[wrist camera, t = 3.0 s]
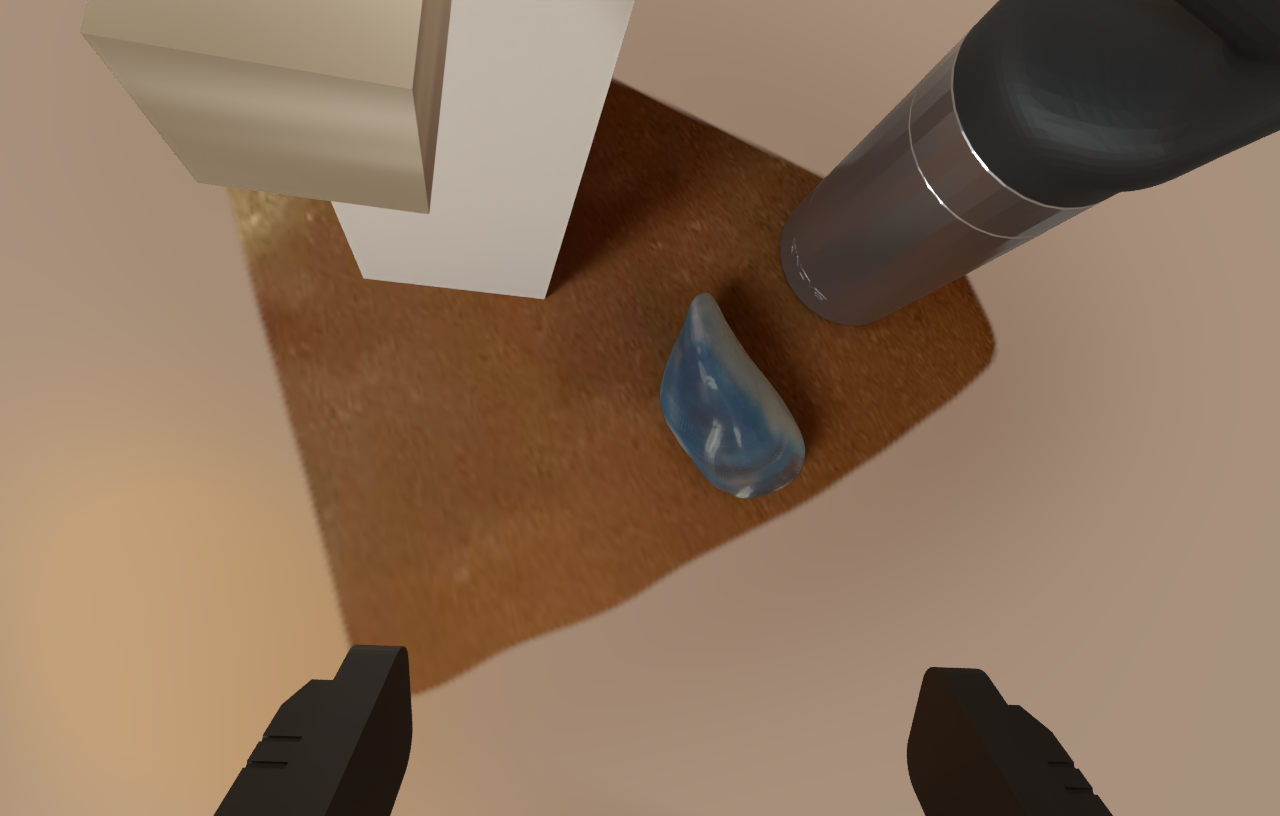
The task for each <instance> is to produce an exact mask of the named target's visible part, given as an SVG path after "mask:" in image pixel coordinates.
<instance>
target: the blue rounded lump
mask: <svg viewBox="0 0 1280 816" xmlns="http://www.w3.org/2000/svg"><path fill="white" fill-rule="evenodd" d="M660 403H661V407H662V411H663V414H664V417H665V420H666V422H667V424H668V426H669V427H670V429H671V430H672V432H673V433H674V435H675V437H676V438H677V440H678V442H679V444H680V445H681V446H682V448H683V449H684V450H685V451H686V453H687V454H688V455H689V456H690V457H691V458H692V460H693V461H694V462H695V464H696V466H697V467H698V469H699V470H700V471H701V472H702V474H703V475H704V476H705V478H706V479H707V480H708V481H709V482H710V483H711V484H712V485H713V486H714V487H716V488H717V489H719V490H722V491H724V492H727V493H729V494H732V495H734V496H736V497H740V498H747V499H750V498H755V497H760V496H765V495H768V494H772V493H774V492H776V491H778V490H780V489H782V488H784V487H786V486H787V485H789V484H790V483H791V482H792V481H793V480H794V479H795V478H796V477H797V475H798V474H799V473H800V471H801V469H802V467H803V463H804V458H805V445H804V440H803V437H802V435H801V432H800V430H799V427H798V426H797V424H796V422H795V420H794V418H793V416H792V414H791V413H790V411H789V409H788V408H787V406H786V404H785V403H784V401H783V400H782V398H781V397H780V395H779V394H778V393H777V392H776V390H775V389H774V387H773V386H772V385H771V384H770V382H769V381H768V380H767V378H766V377H765V376H764V374H763V373H762V372H761V371H760V370H759V368H758V367H757V366H756V364H755V363H754V362H753V361H752V360H751V358H750V356H749V355H748V354H747V353H746V351H745V349H744V348H743V347H742V346H741V344H740V343H739V341H738V340H737V338H736V337H735V335H734V333H733V332H732V330H731V328H730V327H729V325H728V324H727V322H726V320H725V319H724V316H723V314H722V312H721V310H720V308H719V306H718V304H717V303H716V301H715V300H714V298H713V297H712V296H711V295H710V294H709V293H702V294H699V295H698V296H696V297H695V298H694V299H693V301H692V303H691V305H690V307H689V309H688V312H687V315H686V318H685V321H684V323H683V326H682V328H681V331H680V333H679V335H678V337H677V339H676V342H675V344H674V347H673V349H672V351H671V354H670V357H669V359H668V362H667V365H666V369H665V372H664V375H663V379H662V385H661V391H660Z"/></svg>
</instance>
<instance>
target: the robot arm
mask: <svg viewBox="0 0 1280 816" xmlns="http://www.w3.org/2000/svg"><path fill="white" fill-rule="evenodd" d="M1279 130H1280V0H999V1H998V2H997V3H996V4H995V5H994V6H993V7H992V8H991V9H990V10H989V11H988V12H987V13H986V14H985V15H984V17H983V18H982V19H981V20H980V21H979V22H978V23H977V24H976V25H975V26H974V27H973V28H972V29H971V30H970V31H969V32H968V33H967V34H966V35H965V36H964V37H963V38H962V39H961V40H960V42H958V43H957V45H955V47H953V49H951V51H949V53H948V54H947V55H946V56H945V57H944V58H943V59H942V60H941V61H940V62H939V63H938V64H937V65H936V66H935V67H934V68H933V69H932V70H931V71H930V72H929V73H928V74H927V75H926V76H925V77H924V79H922V80H921V81H920V82H919V83H918V84H917V85H916V86H915V87H914V89H912V91H911V92H910V93H909V94H908V95H907V96H906V97H905V98H904V99H903V100H902V101H901V102H900V103H899V104H898V105H897V106H896V107H895V108H894V109H893V110H892V111H891V112H890V113H889V114H888V115H887V116H886V117H885V118H884V119H883V120H882V121H881V122H880V123H879V124H878V125H877V126H876V127H875V128H874V129H873V130H872V131H871V132H870V133H869V134H868V135H867V136H866V137H865V138H864V139H863V140H862V141H861V142H860V143H859V144H858V146H856V147H855V148H854V149H853V150H852V151H851V152H850V153H849V155H847V156H846V157H845V158H844V159H843V160H842V161H841V162H840V164H838V166H836V167H835V168H834V169H833V171H832V172H831V173H830V174H829V175H828V176H826V177H825V178H824V179H823V180H822V181H821V182H820V183H819V184H818V185H817V186H816V187H815V188H814V190H813V191H812V192H811V193H810V194H809V195H808V196H807V197H806V198H805V199H804V200H803V201H802V202H801V203H800V204H799V205H798V206H797V207H796V208H795V209H794V211H793V212H792V213H791V214H790V215H789V217H788V219H787V222H786V224H785V226H784V228H783V232H782V237H781V243H780V256H781V261H782V266H783V270H784V273H785V275H786V278H787V280H788V283H789V285H790V286H791V288H792V289H793V291H794V292H795V294H796V295H797V297H798V298H799V299H800V300H801V301H802V302H803V303H804V304H805V305H806V306H807V307H808V308H809V309H810V310H812V311H813V312H815V313H816V314H817V315H819V316H820V317H823V318H825V319H827V320H829V321H832V322H834V323H839V324H843V325H865V324H869V323H873V322H875V321H877V320H879V319H881V318H883V317H885V316H887V315H889V314H891V313H893V312H895V311H897V310H899V309H900V308H902V307H904V306H906V305H908V304H910V303H912V302H914V301H916V300H918V299H920V298H922V297H924V296H926V295H928V294H930V293H931V292H933V291H935V290H937V289H939V288H941V287H943V286H945V285H947V284H948V283H950V282H952V281H954V280H956V279H958V278H960V277H962V276H963V275H965V274H967V273H969V272H971V271H973V270H975V269H976V268H979V267H980V266H982V265H984V264H986V263H988V262H990V261H992V260H993V259H995V258H997V257H999V256H1001V255H1003V254H1005V253H1007V252H1009V251H1010V250H1012V249H1014V248H1016V247H1018V246H1020V245H1022V244H1024V243H1025V242H1027V241H1029V240H1031V239H1033V238H1035V237H1037V236H1039V235H1041V234H1043V233H1044V232H1046V231H1048V230H1049V229H1051V228H1053V227H1055V226H1057V225H1059V224H1061V223H1063V222H1064V221H1066V220H1068V219H1070V218H1072V217H1074V216H1076V215H1078V214H1079V213H1081V212H1083V211H1085V210H1087V209H1089V208H1091V207H1092V206H1094V205H1096V204H1098V203H1100V202H1102V201H1104V200H1106V199H1108V198H1110V197H1112V196H1113V195H1115V194H1117V193H1119V192H1123V191H1124V192H1125V191H1135V190H1141V189H1145V188H1150V187H1153V186H1156V185H1159V184H1162V183H1165V182H1167V181H1169V180H1172V179H1174V178H1177V177H1179V176H1181V175H1183V174H1185V173H1188V172H1190V171H1192V170H1194V169H1196V168H1198V167H1200V166H1202V165H1204V164H1207V163H1209V162H1211V161H1213V160H1215V159H1217V158H1219V157H1221V156H1223V155H1226V154H1228V153H1230V152H1232V151H1234V150H1237V149H1239V148H1241V147H1243V146H1246V145H1248V144H1250V143H1252V142H1254V141H1257V140H1259V139H1261V138H1263V137H1266V136H1268V135H1270V134H1272V133H1275V132H1277V131H1279ZM411 742H412V709H411V692H410V676H409V659H408V652H407V649H406V648H405V647H404V646H377V645H354V646H353V647H352V648H351V649H350V650H349V652H348V654H347V655H346V658H345V659H344V661H343V663H342V665H341V667H340V668H339V670H338V672H337V674H336V676H335V678H334V679H333V680H313V679H312V680H311V681H309V682H308V683H307V684H306V685H305V686H303V687H302V688H301V689H300V690H299V691H297V692H296V693H295V694H294V695H293V696H291V697H290V698H289V699H288V700H287V701H285V702H284V703H283V704H282V705H281V707H280V708H279V710H278V712H277V713H276V715H275V716H274V718H273V720H272V721H271V723H270V724H269V726H268V728H267V729H266V731H265V733H264V734H263V739H262V741H260V742H258V744H257V746H256V748H255V749H254V750H253V752H252V754H251V755H250V757H249V759H248V760H247V765H246V768H242V770H241V772H240V773H239V775H238V777H237V778H236V780H235V782H234V783H233V785H232V787H231V788H230V790H229V791H228V793H227V795H226V796H225V798H224V799H223V801H222V803H221V804H220V806H219V808H218V809H217V811H216V813H215V814H214V816H390V814H391V812H392V809H393V806H394V803H395V800H396V797H397V794H398V791H399V789H400V786H401V783H402V780H403V777H404V774H405V771H406V768H407V764H408V760H409V755H410V749H411ZM907 764H908V771H909V776H910V780H911V783H912V786H913V789H914V791H915V793H916V795H917V798H918V800H919V802H920V804H921V807H922V809H923V811H924V813H925V816H1113V815H1112V814H1111V813H1110V811H1109V810H1108V808H1107V807H1106V806H1105V804H1104V803H1103V802H1102V800H1101V799H1100V797H1099V796H1098V795H1094V794H1093V788H1092V787H1091V785H1090V784H1089V782H1088V781H1087V780H1086V778H1085V777H1084V776H1083V774H1082V773H1081V771H1080V770H1079V769H1075V767H1074V762H1073V761H1072V759H1071V758H1070V756H1069V755H1068V754H1067V752H1066V751H1065V749H1064V748H1063V747H1062V746H1061V744H1060V743H1059V741H1058V740H1057V738H1056V737H1055V736H1054V734H1053V733H1052V732H1051V731H1050V730H1049V729H1048V728H1046V727H1045V726H1044V725H1043V724H1041V723H1040V722H1039V721H1038V720H1037V719H1035V718H1034V717H1033V716H1032V715H1031V714H1029V713H1028V712H1027V711H1026V710H1024V709H1023V708H1022V707H1021V706H1019V705H1008V704H1007V703H1006V702H1005V700H1004V699H1003V697H1002V696H1001V694H1000V693H999V691H998V690H997V689H996V687H995V686H994V684H993V683H992V681H991V680H990V678H989V677H988V676H987V674H986V673H985V672H983V671H982V670H980V669H970V668H942V667H931V668H929V669H928V670H927V671H926V673H925V675H924V677H923V681H922V685H921V689H920V693H919V698H918V702H917V706H916V710H915V714H914V718H913V723H912V727H911V731H910V735H909V739H908V744H907Z"/></svg>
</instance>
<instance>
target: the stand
mask: <svg viewBox="0 0 1280 816" xmlns="http://www.w3.org/2000/svg"><path fill="white" fill-rule="evenodd" d="M634 3H635V0H452V3H451V12H450V22H449V31H448V41H447V50H446V60H445V69H444V79H443V88H442V98H441V107H440V117H439V126H438V136H437V145H436V155H435V164H434V174H433V183H432V193H431V202H430V212H429V214H423V213H415V212H408V211H401V210H393V209H386V208H378V207H371V206H364V205H356V204H349V203H342V202H334V201H331V202H332V205H333V207H334V209H335V212H336V214H337V217H338V219H339V221H340V224H341V226H342V228H343V231H344V233H345V235H346V238H347V240H348V243H349V245H350V247H351V250H352V252H353V254H354V257H355V259H356V261H357V264H358V266H359V269H360V271H361V273H362V276H363V278H365V279H374V280H383V281H391V282H400V283H409V284H417V285H426V286H435V287H443V288H452V289H461V290H469V291H478V292H487V293H495V294H504V295H513V296H521V297H530V298H539V299H545V296H546V293H547V290H548V286H549V283H550V280H551V277H552V273H553V270H554V267H555V263H556V260H557V257H558V253H559V250H560V247H561V244H562V240H563V237H564V234H565V230H566V227H567V224H568V220H569V217H570V214H571V211H572V207H573V204H574V201H575V197H576V194H577V191H578V187H579V184H580V181H581V178H582V174H583V171H584V168H585V164H586V161H587V158H588V155H589V151H590V148H591V145H592V141H593V138H594V135H595V131H596V128H597V125H598V122H599V118H600V115H601V112H602V108H603V105H604V102H605V98H606V95H607V92H608V89H609V85H610V82H611V79H612V75H613V72H614V69H615V65H616V62H617V59H618V55H619V52H620V49H621V46H622V42H623V39H624V36H625V32H626V29H627V26H628V23H629V19H630V16H631V13H632V9H633V6H634Z"/></svg>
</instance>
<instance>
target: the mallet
mask: <svg viewBox="0 0 1280 816" xmlns="http://www.w3.org/2000/svg"><path fill="white" fill-rule="evenodd" d="M451 3H452V0H87V5H86V10H85V14H84V19H83V24H82V29H81V34H82V35H83V37H84V38H85V39H86V40H87V42H88V43H89V44H90V45H91V47H92V48H93V49H94V51H95V52H96V53H97V55H98V56H99V57H100V58H101V60H102V61H103V62H104V64H105V65H106V66H107V67H108V69H109V70H110V71H111V72H112V74H113V75H114V76H115V78H116V79H117V80H118V81H119V83H120V84H121V85H122V87H123V88H124V89H125V90H126V92H127V93H128V94H129V96H130V97H131V98H132V99H133V101H134V102H135V103H136V104H137V106H138V107H139V108H140V110H141V111H142V112H143V114H144V115H145V116H146V117H147V119H148V120H149V121H150V122H151V124H152V125H153V126H154V128H155V129H156V130H157V131H158V133H159V134H160V135H161V137H162V138H163V139H164V140H165V142H166V143H167V144H168V146H169V147H170V148H171V149H172V151H173V152H174V153H175V155H176V156H177V157H178V158H179V160H180V161H181V162H182V163H183V165H184V166H185V167H186V169H187V170H188V171H189V173H190V174H191V175H192V176H193V178H194V179H195V180H196V181H197V183H201V184H209V185H216V186H224V187H231V188H238V189H246V190H253V191H260V192H268V193H275V194H283V195H290V196H297V197H305V198H312V199H319V200H327V201H334V202H342V203H349V204H356V205H364V206H371V207H378V208H386V209H393V210H401V211H408V212H415V213H423V214H429V212H430V202H431V193H432V183H433V174H434V164H435V155H436V145H437V136H438V126H439V117H440V107H441V98H442V88H443V79H444V69H445V60H446V50H447V41H448V31H449V22H450V12H451Z"/></svg>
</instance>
